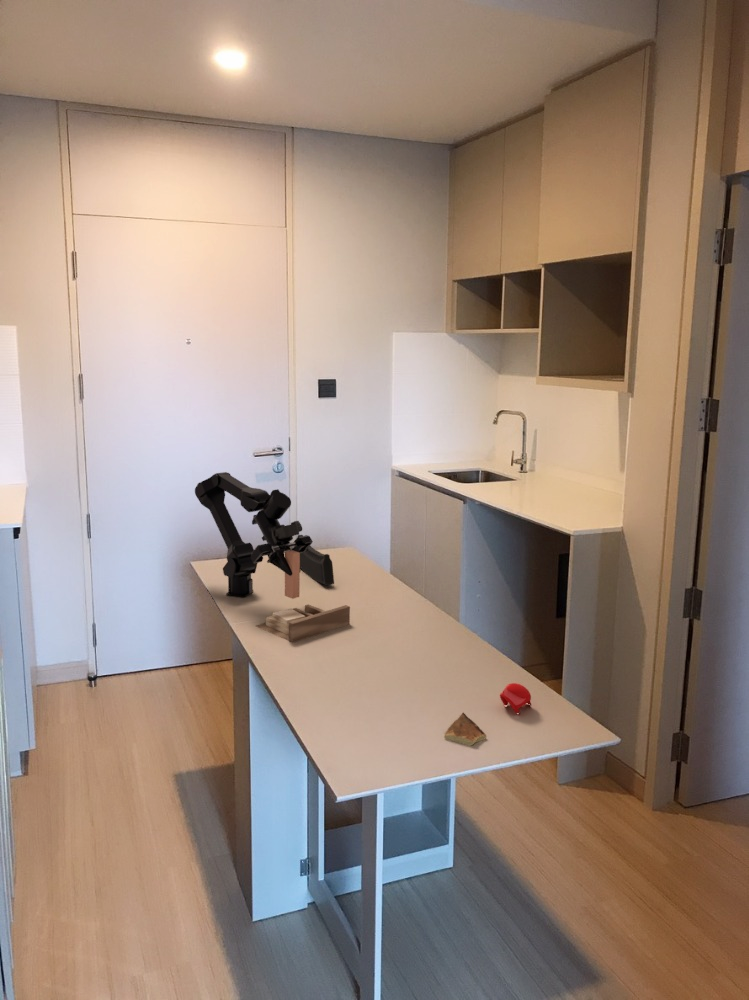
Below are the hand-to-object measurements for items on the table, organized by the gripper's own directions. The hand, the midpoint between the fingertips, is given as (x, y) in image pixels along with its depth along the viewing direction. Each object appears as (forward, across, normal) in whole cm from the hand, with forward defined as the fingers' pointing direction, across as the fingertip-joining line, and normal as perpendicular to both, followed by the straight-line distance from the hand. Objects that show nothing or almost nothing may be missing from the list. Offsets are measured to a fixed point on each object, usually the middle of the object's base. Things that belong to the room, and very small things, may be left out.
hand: (295, 573), depth 224 cm
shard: (+62, -18, -44) cm, 78 cm away
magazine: (-10, +30, +29) cm, 42 cm away
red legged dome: (+63, -1, -46) cm, 78 cm away
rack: (+15, -4, +3) cm, 16 cm away
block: (+4, 0, +6) cm, 7 cm away
